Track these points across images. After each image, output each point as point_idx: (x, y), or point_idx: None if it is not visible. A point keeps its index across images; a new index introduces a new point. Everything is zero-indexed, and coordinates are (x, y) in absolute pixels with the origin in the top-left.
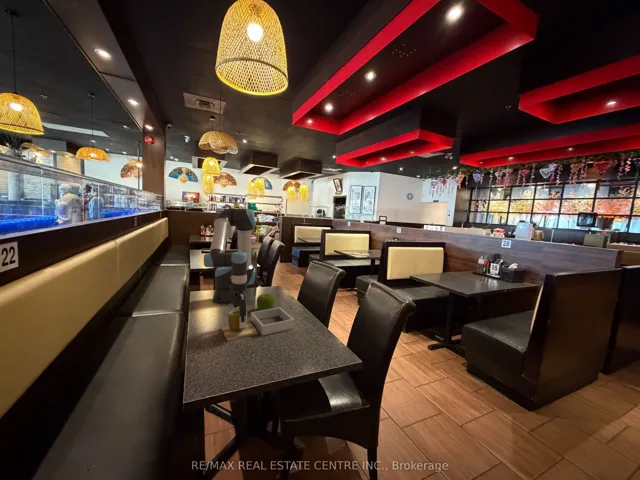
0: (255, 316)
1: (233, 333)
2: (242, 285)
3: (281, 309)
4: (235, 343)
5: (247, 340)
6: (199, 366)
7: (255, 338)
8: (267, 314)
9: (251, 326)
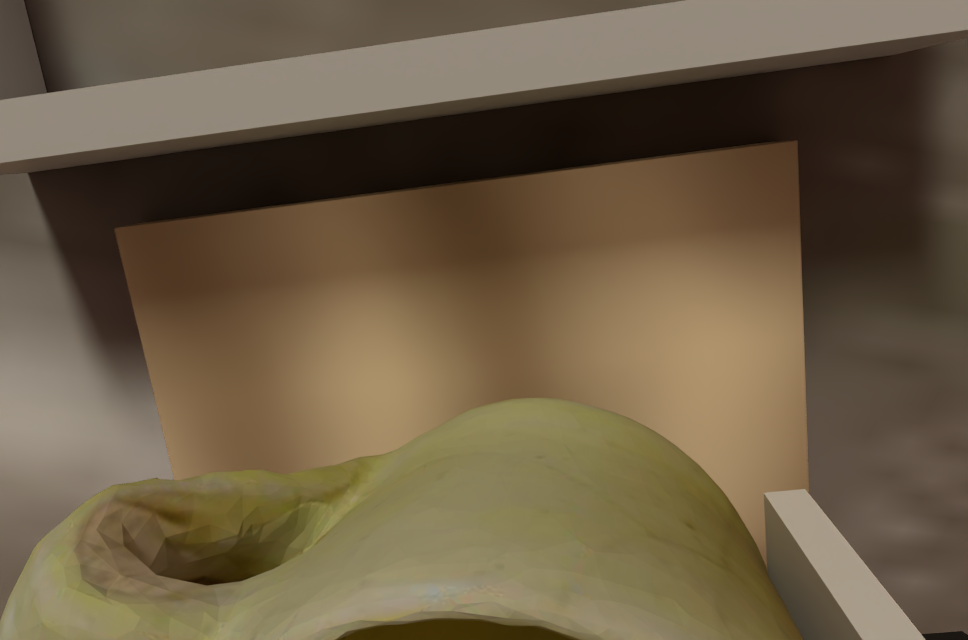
0: (199, 91)
1: None
2: None
3: None
4: (950, 604)
5: (947, 392)
6: None
7: (945, 226)
8: None
9: (440, 232)
